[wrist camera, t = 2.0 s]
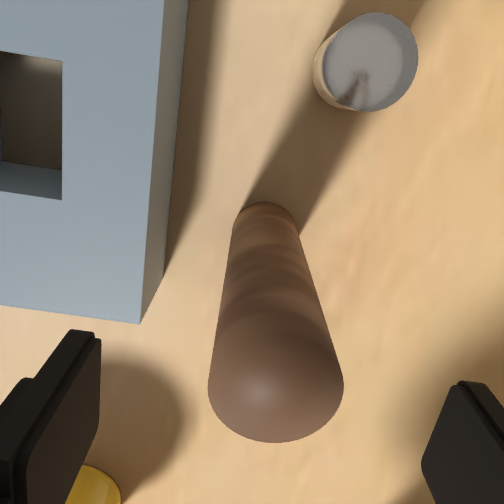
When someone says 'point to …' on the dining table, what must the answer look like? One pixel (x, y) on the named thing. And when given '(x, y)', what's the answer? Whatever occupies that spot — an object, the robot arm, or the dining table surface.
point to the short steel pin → (366, 63)
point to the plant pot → (93, 488)
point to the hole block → (95, 158)
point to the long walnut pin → (271, 335)
